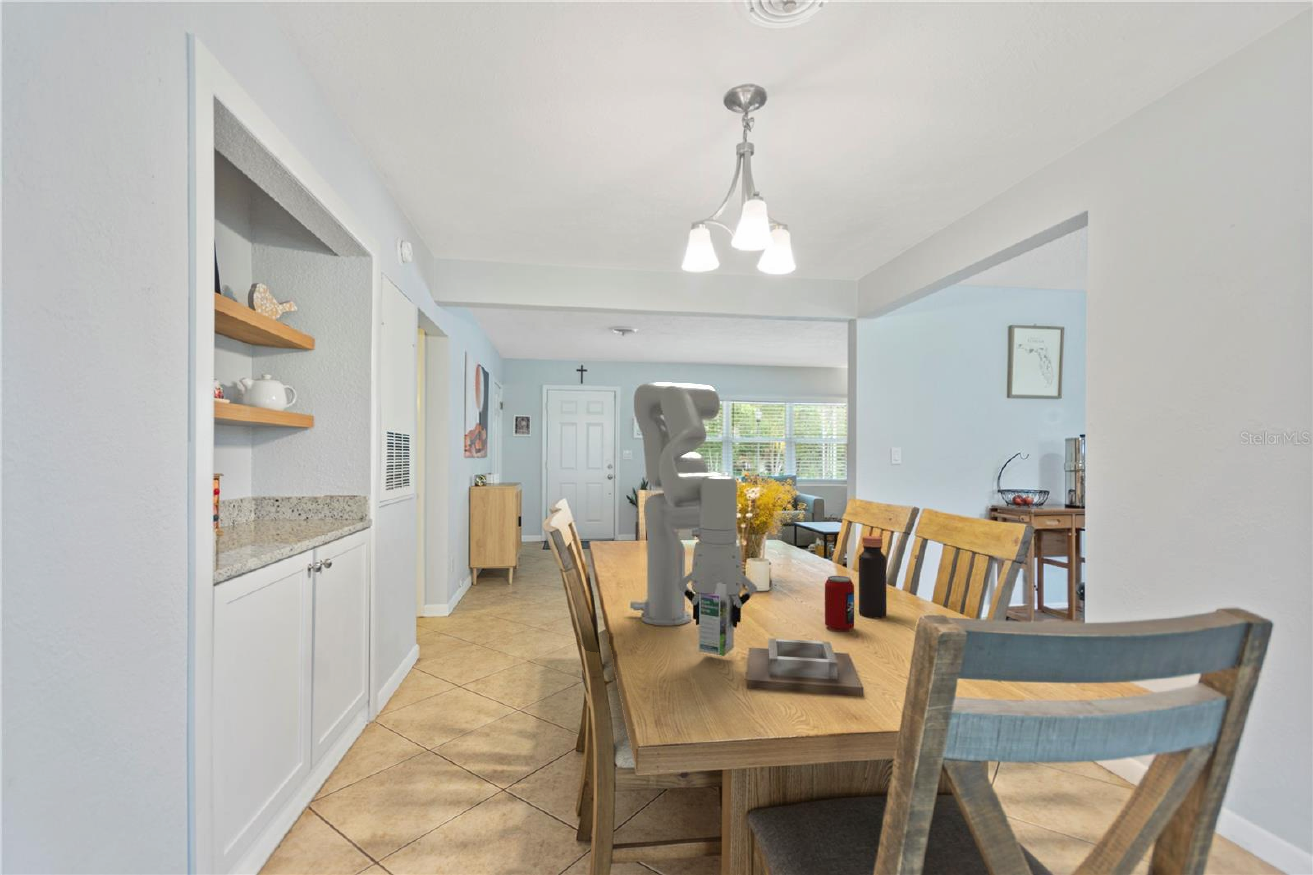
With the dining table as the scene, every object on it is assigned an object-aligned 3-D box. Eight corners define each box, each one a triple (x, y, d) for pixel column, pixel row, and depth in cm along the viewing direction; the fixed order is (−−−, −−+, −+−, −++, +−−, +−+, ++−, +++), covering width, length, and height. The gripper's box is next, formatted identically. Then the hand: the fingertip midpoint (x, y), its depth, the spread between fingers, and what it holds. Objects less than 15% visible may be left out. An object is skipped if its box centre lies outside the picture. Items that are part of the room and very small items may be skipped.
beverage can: (858, 632, 142) (857, 581, 142) (829, 632, 142) (828, 580, 143) (849, 624, 149) (849, 575, 149) (821, 624, 149) (821, 575, 149)
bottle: (889, 613, 159) (888, 536, 159) (883, 619, 153) (883, 540, 153) (862, 610, 162) (862, 534, 163) (855, 615, 157) (855, 537, 157)
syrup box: (697, 651, 122) (698, 579, 122) (708, 643, 127) (709, 573, 127) (724, 656, 120) (725, 583, 119) (734, 647, 125) (735, 577, 125)
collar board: (746, 688, 109) (746, 662, 109) (748, 654, 126) (748, 633, 127) (863, 696, 105) (863, 670, 105) (848, 660, 123) (848, 638, 123)
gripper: (672, 537, 121) (671, 627, 121) (761, 541, 118) (760, 633, 118) (677, 532, 129) (676, 616, 129) (761, 535, 126) (760, 621, 126)
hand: (716, 623), depth 123 cm, fingers closed on syrup box, 6 cm apart
